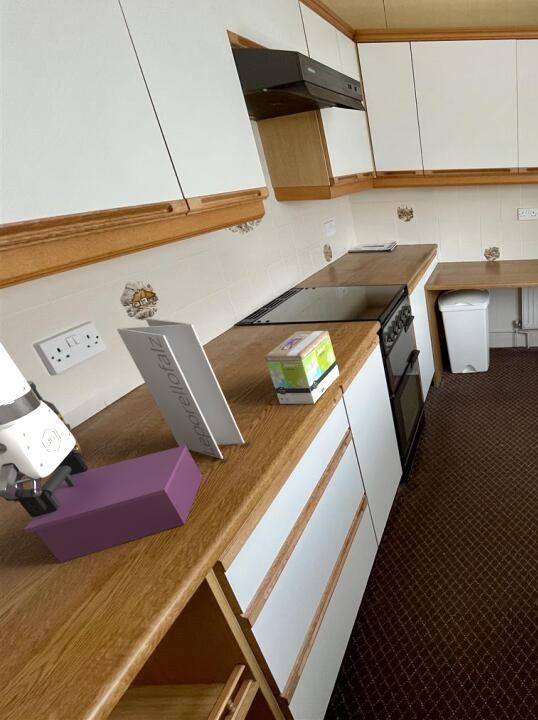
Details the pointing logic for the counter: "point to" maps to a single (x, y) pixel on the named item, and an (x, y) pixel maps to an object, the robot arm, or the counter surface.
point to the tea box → (302, 367)
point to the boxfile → (126, 518)
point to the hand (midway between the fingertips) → (62, 491)
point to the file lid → (107, 486)
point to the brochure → (182, 384)
